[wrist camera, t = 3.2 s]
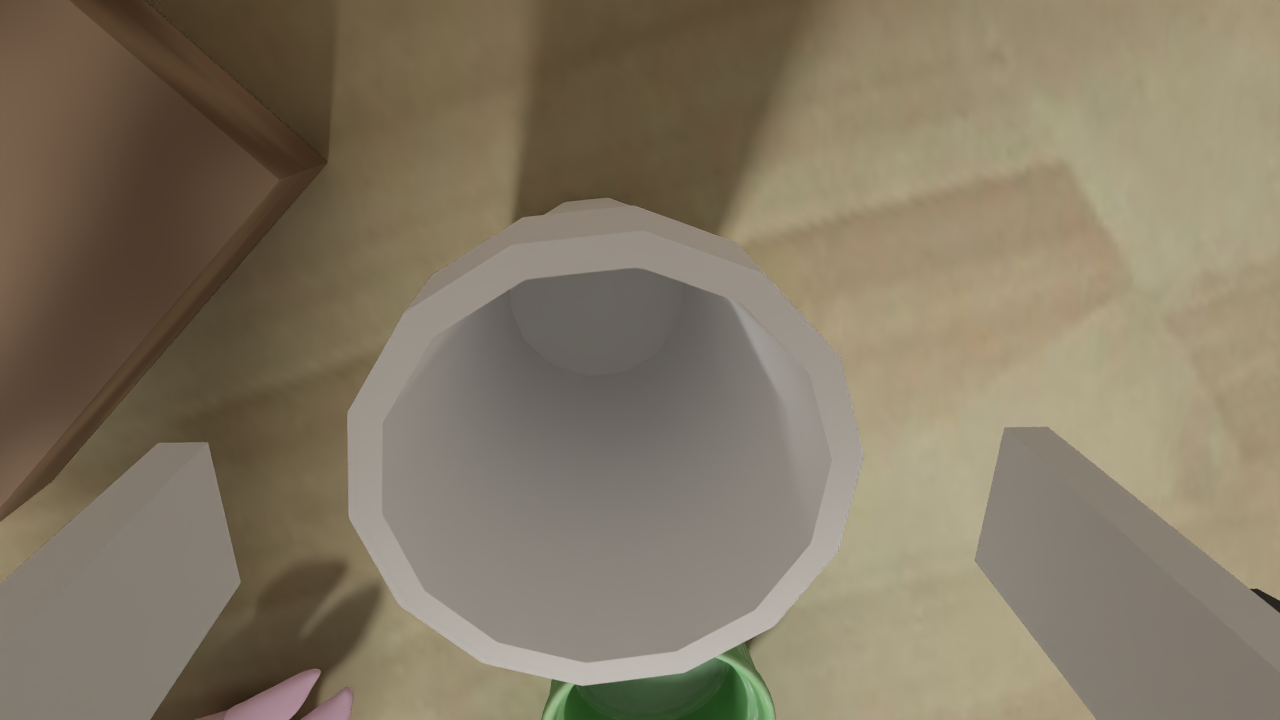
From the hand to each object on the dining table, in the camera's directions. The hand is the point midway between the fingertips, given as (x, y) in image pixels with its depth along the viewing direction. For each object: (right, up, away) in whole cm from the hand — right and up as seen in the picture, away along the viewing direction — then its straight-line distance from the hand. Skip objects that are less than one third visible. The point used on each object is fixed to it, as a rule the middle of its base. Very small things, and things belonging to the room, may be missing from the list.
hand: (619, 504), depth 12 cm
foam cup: (-1, +5, +13) cm, 14 cm away
